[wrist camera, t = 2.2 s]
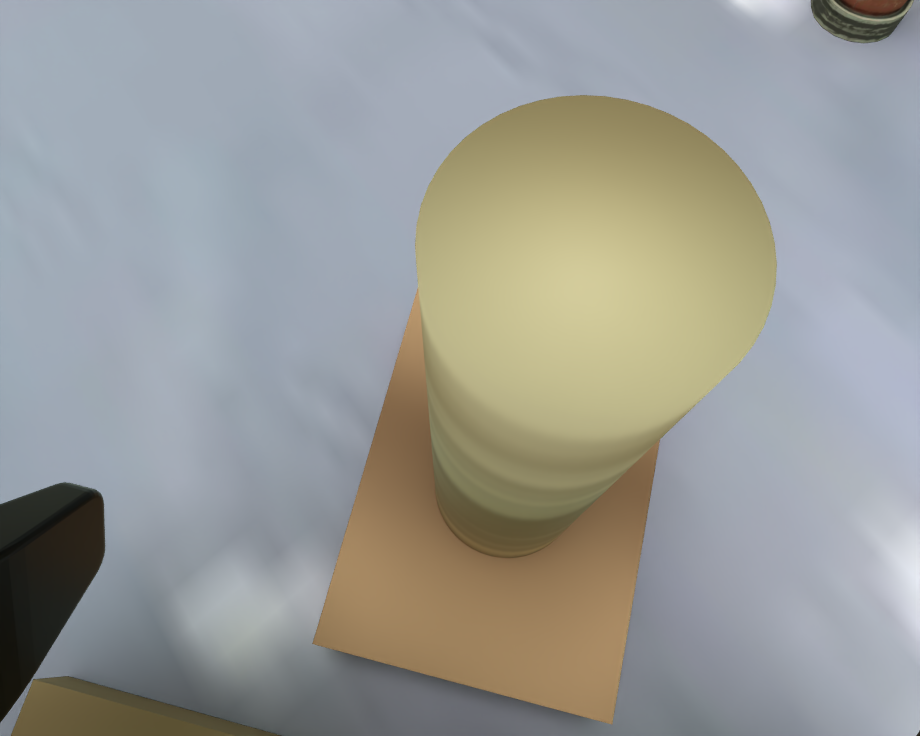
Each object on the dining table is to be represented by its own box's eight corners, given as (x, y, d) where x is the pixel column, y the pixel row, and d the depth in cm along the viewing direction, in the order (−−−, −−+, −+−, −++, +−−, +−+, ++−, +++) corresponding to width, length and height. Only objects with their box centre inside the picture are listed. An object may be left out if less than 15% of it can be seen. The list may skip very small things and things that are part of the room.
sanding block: (589, 712, 17) (943, 890, 5) (330, 643, 18) (60, 646, 5) (648, 382, 20) (973, -41, 8) (421, 328, 20) (381, -156, 8)
